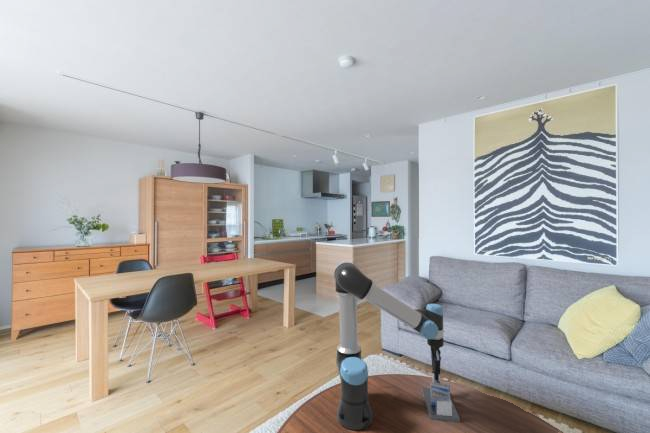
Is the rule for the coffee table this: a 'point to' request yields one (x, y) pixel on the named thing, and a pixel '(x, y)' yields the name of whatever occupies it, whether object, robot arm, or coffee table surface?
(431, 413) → the base
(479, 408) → the coffee table surface
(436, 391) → the medicine box
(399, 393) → the coffee table surface
